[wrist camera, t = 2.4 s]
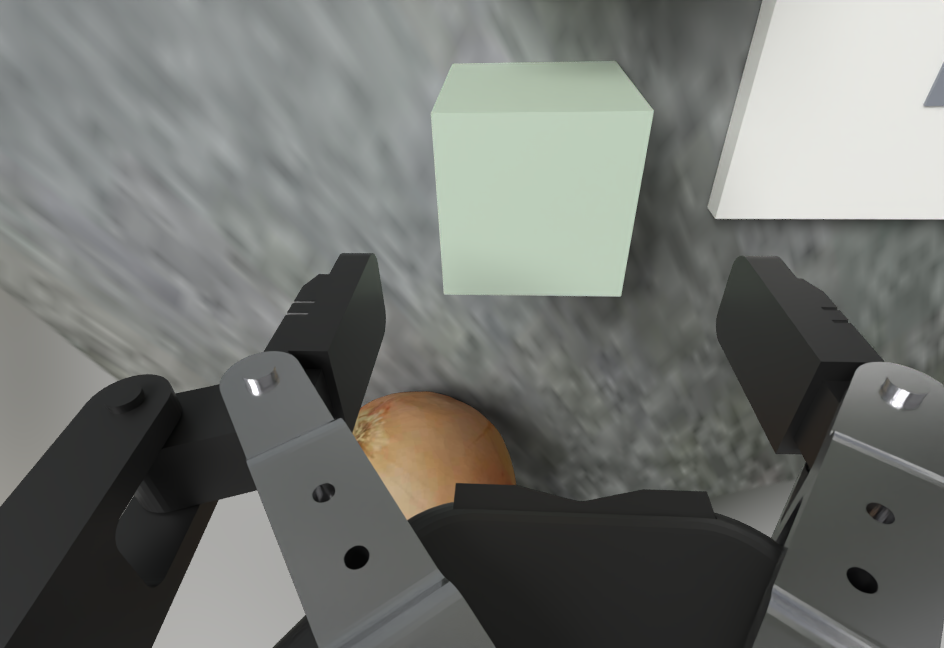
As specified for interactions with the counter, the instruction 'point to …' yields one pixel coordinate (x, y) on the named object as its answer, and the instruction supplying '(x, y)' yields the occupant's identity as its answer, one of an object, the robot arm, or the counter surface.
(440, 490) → the onion
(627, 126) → the sage block
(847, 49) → the baseplate
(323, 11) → the counter surface
